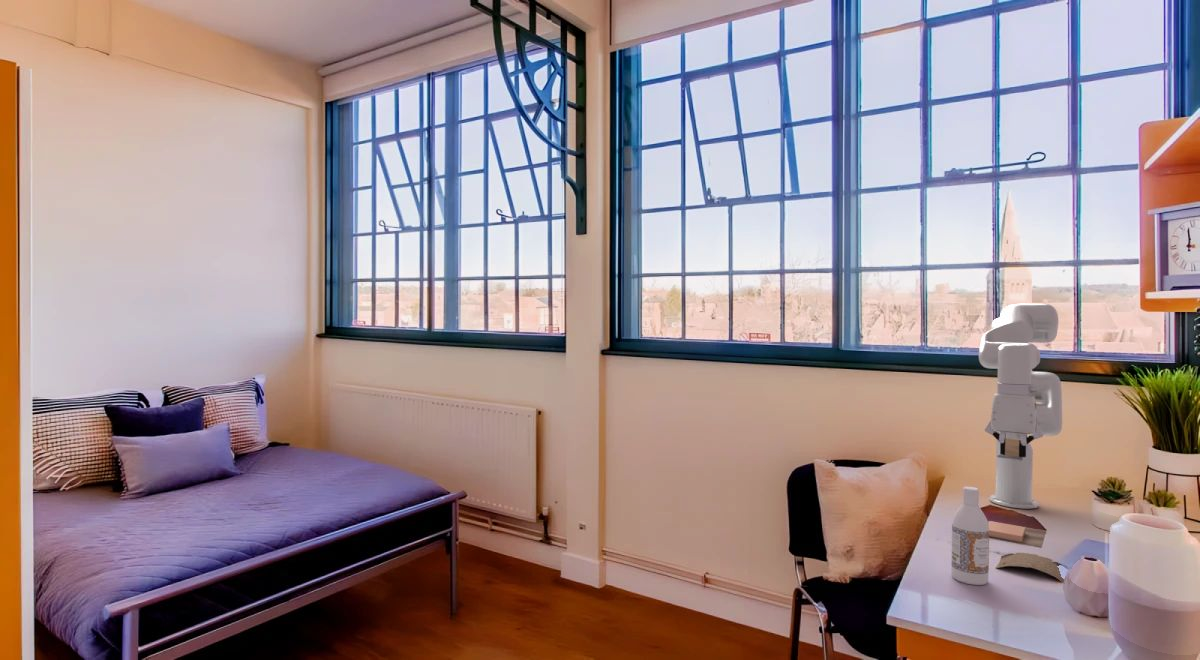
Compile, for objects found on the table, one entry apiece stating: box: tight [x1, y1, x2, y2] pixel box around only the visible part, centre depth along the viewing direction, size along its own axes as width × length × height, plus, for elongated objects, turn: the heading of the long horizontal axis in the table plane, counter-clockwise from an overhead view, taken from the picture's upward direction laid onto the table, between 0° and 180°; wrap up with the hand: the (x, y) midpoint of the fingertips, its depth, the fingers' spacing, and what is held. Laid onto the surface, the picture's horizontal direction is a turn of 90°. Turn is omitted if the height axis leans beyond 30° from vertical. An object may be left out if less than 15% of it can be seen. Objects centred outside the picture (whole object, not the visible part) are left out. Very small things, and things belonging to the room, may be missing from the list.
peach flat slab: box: [988, 520, 1026, 542], centre depth 161 cm, size 2×8×9 cm
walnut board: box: [987, 520, 1047, 549], centre depth 162 cm, size 16×14×2 cm
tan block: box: [998, 438, 1023, 460], centre depth 166 cm, size 12×5×5 cm, turn 141°
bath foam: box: [950, 486, 990, 586], centre depth 136 cm, size 7×7×20 cm
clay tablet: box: [995, 552, 1065, 583], centre depth 142 cm, size 14×10×3 cm
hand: (1012, 457), depth 167 cm, fingers closed on tan block, 3 cm apart
